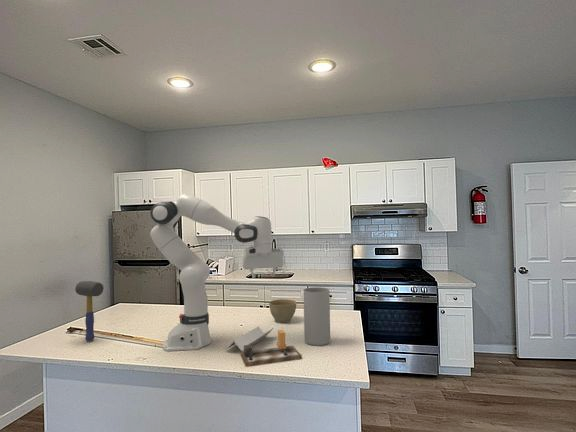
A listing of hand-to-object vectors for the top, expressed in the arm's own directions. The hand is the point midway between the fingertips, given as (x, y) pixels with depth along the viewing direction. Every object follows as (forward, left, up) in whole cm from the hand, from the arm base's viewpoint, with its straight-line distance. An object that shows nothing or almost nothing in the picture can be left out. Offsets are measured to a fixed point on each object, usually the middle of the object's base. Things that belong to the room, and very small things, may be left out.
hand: (263, 277), depth 169 cm
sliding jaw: (+4, -22, -29) cm, 36 cm away
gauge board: (-2, -21, -31) cm, 38 cm away
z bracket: (-7, -3, -31) cm, 32 cm away
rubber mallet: (-83, +29, -31) cm, 93 cm away
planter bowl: (+18, +29, -31) cm, 46 cm away
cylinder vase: (+24, -10, -31) cm, 41 cm away
